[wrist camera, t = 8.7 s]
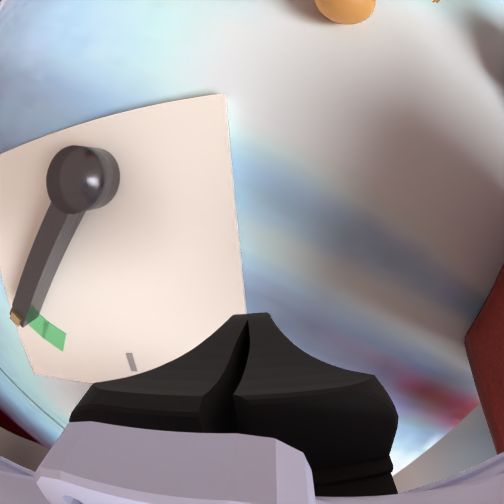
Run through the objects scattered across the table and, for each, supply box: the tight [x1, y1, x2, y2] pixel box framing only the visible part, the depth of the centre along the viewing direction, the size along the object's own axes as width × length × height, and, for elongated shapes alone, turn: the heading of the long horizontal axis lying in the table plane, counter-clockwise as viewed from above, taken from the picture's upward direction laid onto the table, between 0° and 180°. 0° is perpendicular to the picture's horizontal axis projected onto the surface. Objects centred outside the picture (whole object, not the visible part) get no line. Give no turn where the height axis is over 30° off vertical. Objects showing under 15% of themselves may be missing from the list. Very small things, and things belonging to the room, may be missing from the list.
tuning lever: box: [10, 145, 120, 328], centre depth 18 cm, size 14×4×3 cm, turn 142°
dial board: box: [0, 93, 247, 383], centre depth 20 cm, size 20×21×1 cm
